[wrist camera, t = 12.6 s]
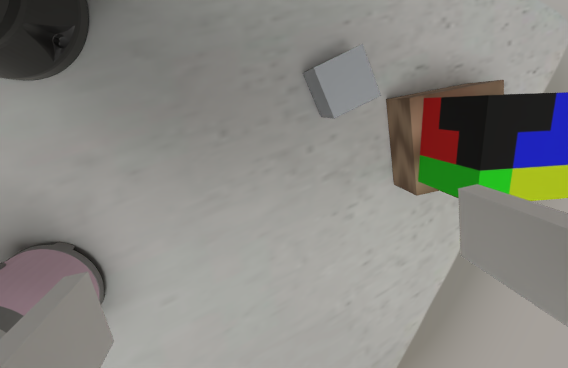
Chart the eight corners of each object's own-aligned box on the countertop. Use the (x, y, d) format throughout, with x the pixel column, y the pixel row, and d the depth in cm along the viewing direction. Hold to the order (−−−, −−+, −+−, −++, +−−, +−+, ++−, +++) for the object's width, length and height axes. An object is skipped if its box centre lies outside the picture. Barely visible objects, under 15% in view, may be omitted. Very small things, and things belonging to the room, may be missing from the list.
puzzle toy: (500, 95, 39) (588, 91, 29) (490, 176, 41) (569, 197, 31) (423, 98, 37) (488, 95, 28) (418, 181, 40) (476, 205, 30)
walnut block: (386, 99, 43) (409, 97, 37) (468, 83, 44) (503, 79, 38) (394, 184, 46) (416, 195, 40) (470, 167, 47) (503, 176, 41)
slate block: (302, 73, 41) (313, 67, 35) (344, 52, 41) (362, 43, 35) (321, 116, 42) (334, 118, 36) (361, 96, 42) (381, 95, 37)
